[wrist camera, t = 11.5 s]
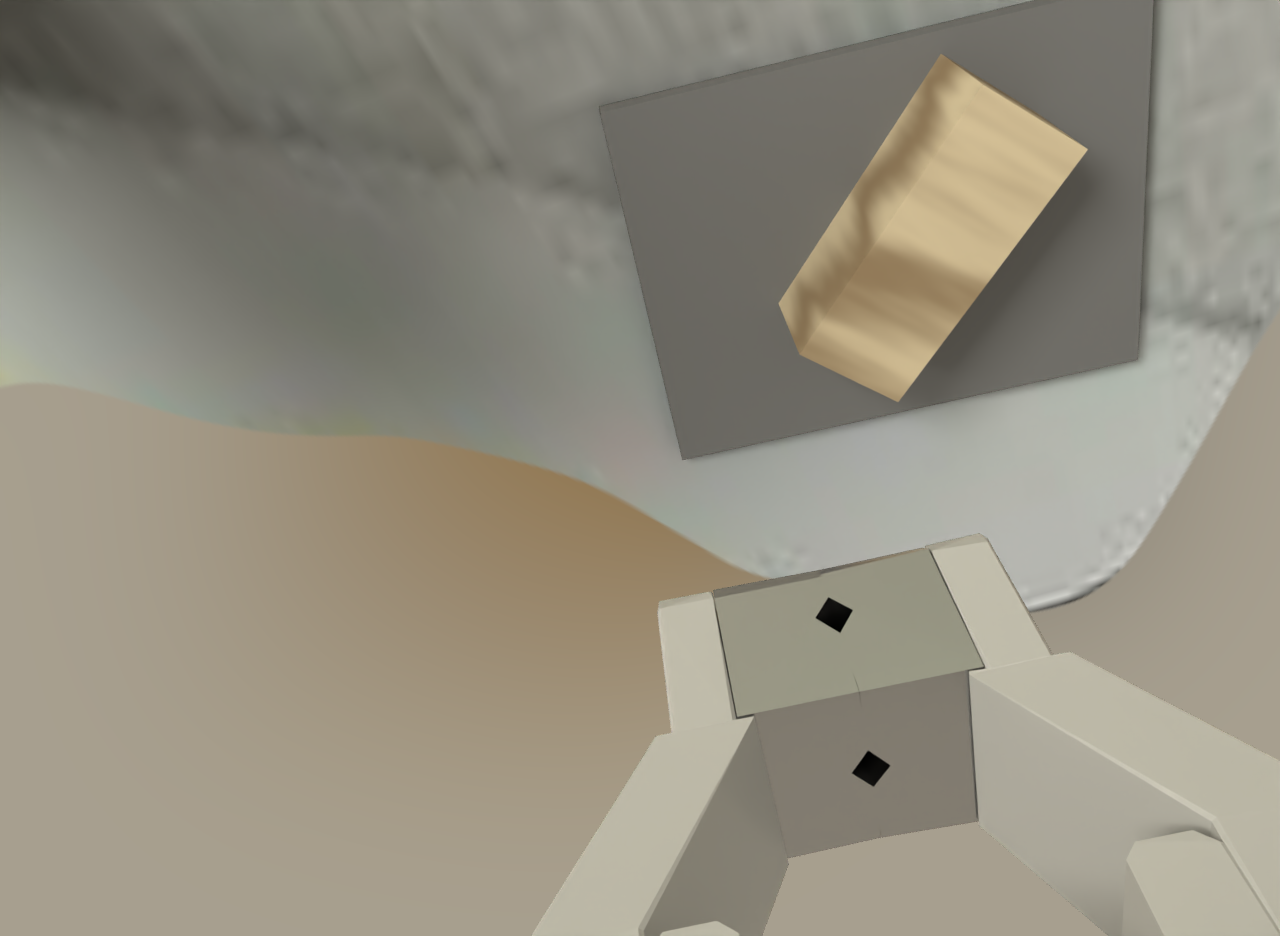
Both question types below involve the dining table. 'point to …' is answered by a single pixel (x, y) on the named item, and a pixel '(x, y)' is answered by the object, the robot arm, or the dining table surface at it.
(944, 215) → the maple block
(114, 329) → the dining table surface
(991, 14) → the rubber mat
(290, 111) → the dining table surface
